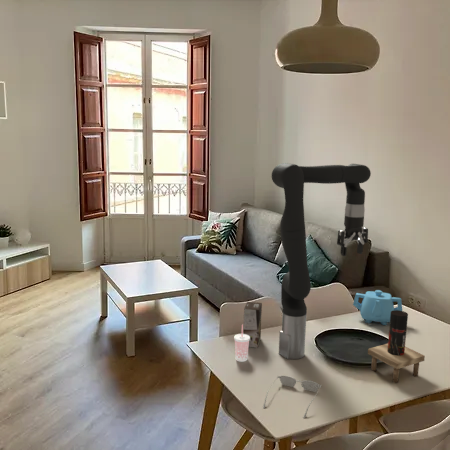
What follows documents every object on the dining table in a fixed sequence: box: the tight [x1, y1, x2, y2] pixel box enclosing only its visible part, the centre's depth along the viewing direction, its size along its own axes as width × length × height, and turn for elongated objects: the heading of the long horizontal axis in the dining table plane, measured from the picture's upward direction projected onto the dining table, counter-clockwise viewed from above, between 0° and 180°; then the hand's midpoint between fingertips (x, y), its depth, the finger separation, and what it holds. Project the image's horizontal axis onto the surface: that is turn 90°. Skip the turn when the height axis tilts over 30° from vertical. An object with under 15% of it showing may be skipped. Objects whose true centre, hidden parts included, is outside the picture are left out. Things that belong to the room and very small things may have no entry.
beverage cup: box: [233, 323, 250, 363], centre depth 203 cm, size 6×6×14 cm
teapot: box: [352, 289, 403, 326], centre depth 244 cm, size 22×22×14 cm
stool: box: [367, 343, 425, 384], centre depth 195 cm, size 14×14×8 cm
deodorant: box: [387, 310, 409, 356], centre depth 193 cm, size 6×6×15 cm
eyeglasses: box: [262, 375, 322, 419], centre depth 175 cm, size 15×18×4 cm
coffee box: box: [243, 301, 263, 348], centre depth 218 cm, size 9×6×16 cm
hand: (351, 254), depth 213 cm, fingers open, 8 cm apart
